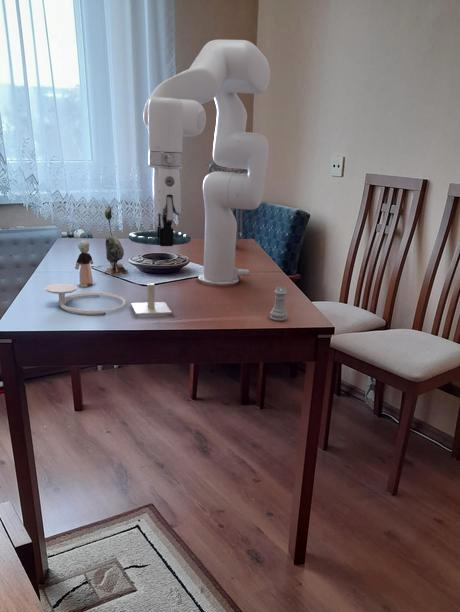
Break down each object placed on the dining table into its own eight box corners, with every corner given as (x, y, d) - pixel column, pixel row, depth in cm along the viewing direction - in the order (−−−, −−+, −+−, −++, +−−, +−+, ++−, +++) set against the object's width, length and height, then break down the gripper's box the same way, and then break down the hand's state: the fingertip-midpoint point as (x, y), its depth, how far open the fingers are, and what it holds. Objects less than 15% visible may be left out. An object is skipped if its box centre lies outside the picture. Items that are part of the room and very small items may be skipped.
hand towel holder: (121, 299, 135) (35, 296, 134) (122, 317, 137) (37, 313, 136) (129, 281, 150) (52, 278, 149) (130, 297, 152) (54, 294, 151)
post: (165, 306, 147) (165, 279, 143) (172, 316, 139) (172, 288, 136) (131, 307, 144) (130, 280, 141) (136, 318, 136) (135, 289, 133)
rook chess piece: (268, 316, 144) (270, 285, 140) (285, 316, 144) (288, 286, 140) (270, 321, 140) (273, 290, 136) (288, 322, 140) (291, 290, 136)
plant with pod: (99, 277, 169) (95, 208, 160) (108, 269, 179) (104, 204, 170) (125, 279, 169) (123, 210, 160) (132, 270, 179) (131, 205, 170)
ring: (183, 237, 147) (183, 230, 146) (197, 245, 133) (197, 238, 133) (125, 236, 142) (125, 230, 142) (133, 245, 129) (133, 238, 128)
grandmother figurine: (87, 288, 157) (84, 243, 152) (74, 287, 158) (71, 241, 152) (98, 282, 164) (95, 238, 158) (86, 281, 165) (83, 237, 159)
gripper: (190, 163, 118) (188, 251, 126) (174, 159, 132) (173, 239, 140) (155, 162, 116) (155, 251, 124) (143, 158, 129) (144, 239, 138)
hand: (165, 244), depth 132 cm, fingers closed on ring, 1 cm apart
